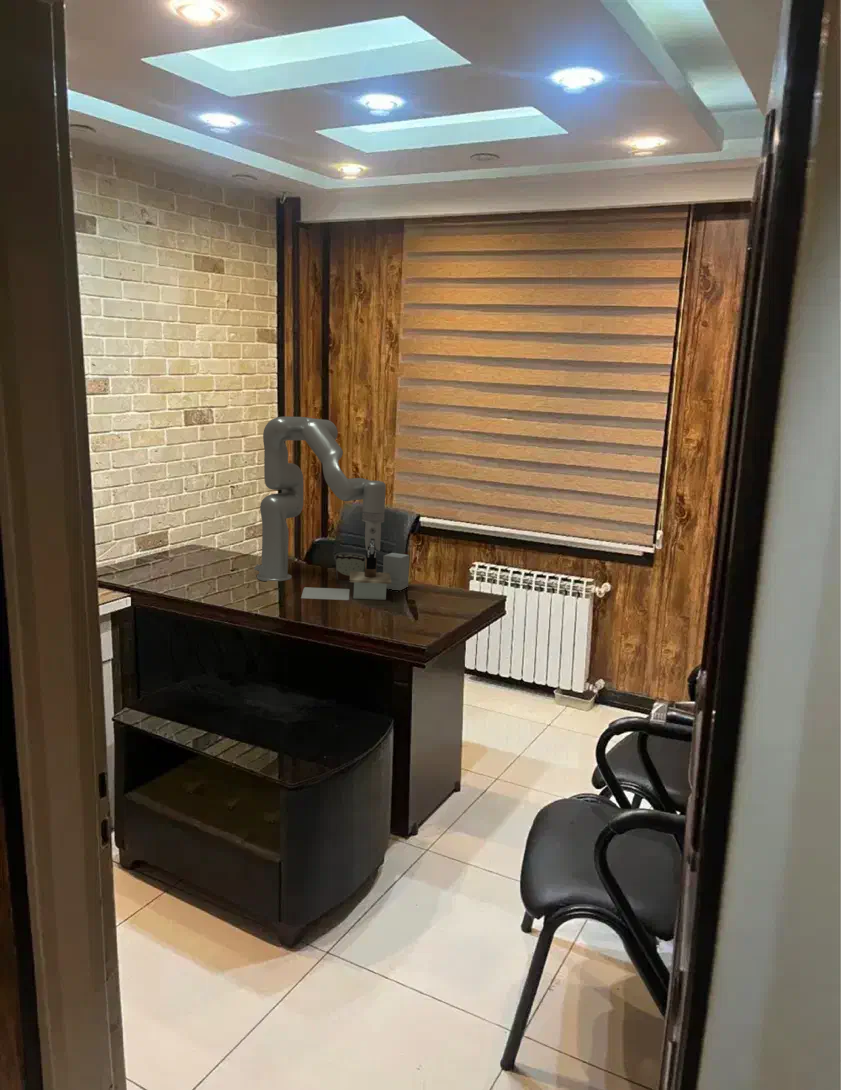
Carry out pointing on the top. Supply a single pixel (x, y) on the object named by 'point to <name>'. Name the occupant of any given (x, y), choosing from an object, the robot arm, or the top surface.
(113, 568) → the top surface
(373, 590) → the open square bin
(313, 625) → the top surface
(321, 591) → the mat
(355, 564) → the grey half-round piece
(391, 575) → the supplement box
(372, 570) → the lid
